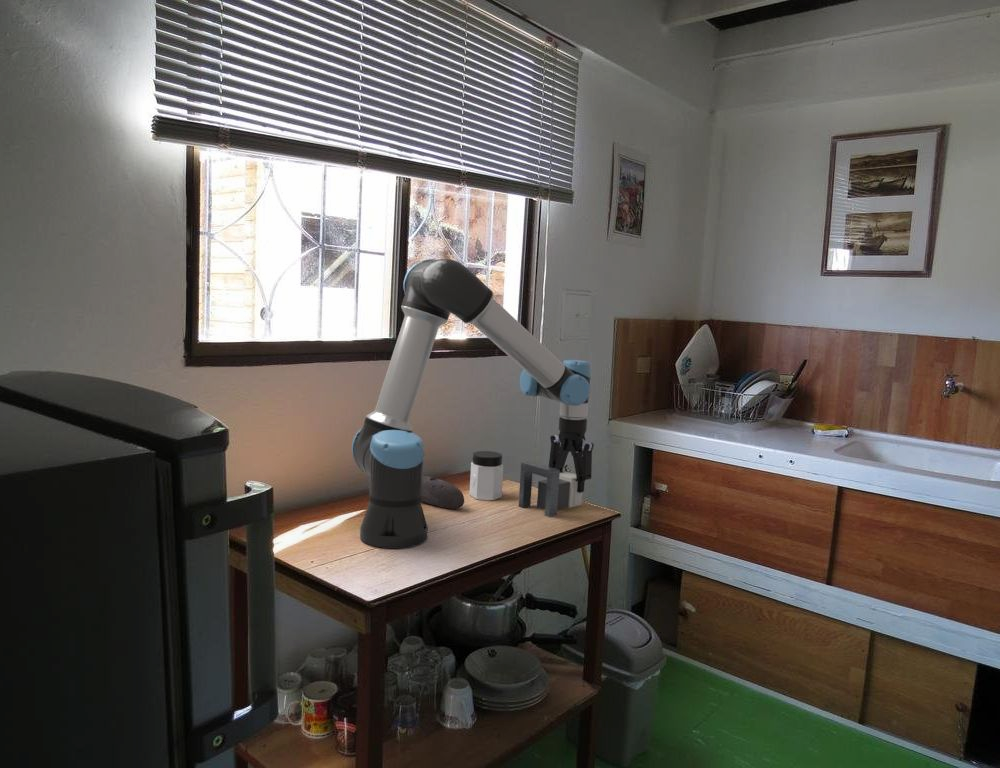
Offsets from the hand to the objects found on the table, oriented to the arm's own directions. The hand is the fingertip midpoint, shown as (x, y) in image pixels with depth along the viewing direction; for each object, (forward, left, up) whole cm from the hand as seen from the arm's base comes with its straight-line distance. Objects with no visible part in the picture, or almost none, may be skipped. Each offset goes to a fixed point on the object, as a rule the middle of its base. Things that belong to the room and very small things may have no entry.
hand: (567, 500), depth 194 cm
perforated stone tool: (-30, +17, -1) cm, 35 cm away
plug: (-3, 0, -1) cm, 3 cm away
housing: (-12, 0, -1) cm, 12 cm away
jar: (-14, +17, -1) cm, 23 cm away
